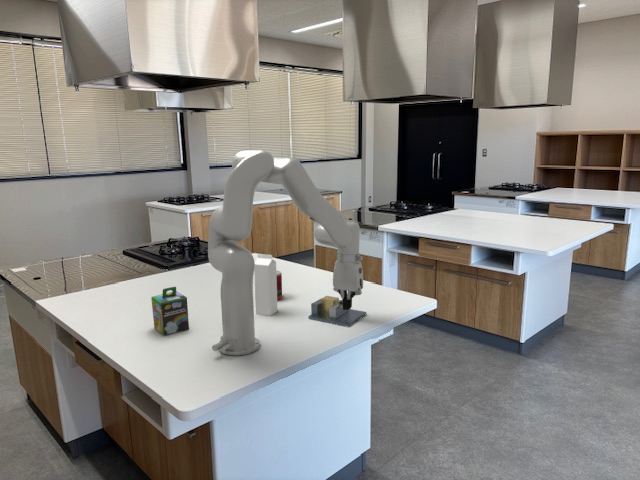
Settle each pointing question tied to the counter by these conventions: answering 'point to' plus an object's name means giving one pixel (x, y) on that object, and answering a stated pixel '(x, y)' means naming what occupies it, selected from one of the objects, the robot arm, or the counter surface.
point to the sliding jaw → (336, 310)
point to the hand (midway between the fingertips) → (347, 308)
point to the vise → (342, 320)
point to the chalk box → (170, 312)
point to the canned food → (279, 285)
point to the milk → (265, 285)
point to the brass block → (327, 303)
